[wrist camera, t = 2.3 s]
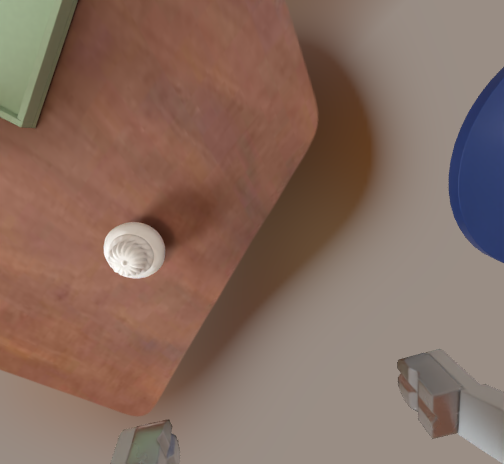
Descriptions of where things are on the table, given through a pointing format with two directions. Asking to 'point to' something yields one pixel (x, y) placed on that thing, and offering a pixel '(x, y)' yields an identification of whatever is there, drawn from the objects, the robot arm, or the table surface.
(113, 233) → the muffin
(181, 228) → the table surface
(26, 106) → the tray
